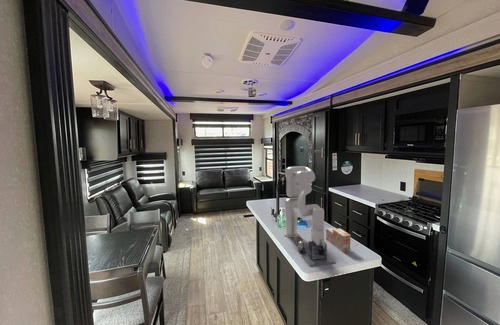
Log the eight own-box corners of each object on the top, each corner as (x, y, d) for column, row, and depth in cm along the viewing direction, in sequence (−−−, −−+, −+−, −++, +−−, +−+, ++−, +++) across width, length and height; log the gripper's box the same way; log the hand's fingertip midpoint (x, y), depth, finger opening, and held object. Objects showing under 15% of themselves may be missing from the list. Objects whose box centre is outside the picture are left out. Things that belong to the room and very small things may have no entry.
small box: (323, 254, 150) (323, 239, 149) (327, 259, 144) (327, 244, 143) (308, 255, 150) (308, 240, 149) (311, 260, 143) (311, 245, 142)
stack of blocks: (325, 239, 175) (325, 224, 174) (332, 238, 177) (332, 223, 176) (342, 252, 155) (343, 235, 153) (350, 251, 156) (350, 234, 155)
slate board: (301, 255, 151) (301, 254, 151) (325, 252, 154) (325, 251, 154) (309, 266, 138) (309, 264, 138) (335, 262, 142) (335, 261, 141)
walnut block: (294, 243, 170) (294, 237, 170) (300, 242, 171) (300, 236, 171) (296, 246, 165) (296, 240, 165) (303, 245, 166) (303, 239, 166)
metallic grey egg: (297, 251, 158) (296, 242, 157) (301, 248, 160) (301, 239, 160) (302, 254, 154) (301, 244, 153) (307, 251, 156) (306, 242, 156)
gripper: (307, 222, 152) (307, 245, 154) (319, 232, 135) (319, 258, 137) (317, 221, 153) (316, 244, 155) (330, 231, 136) (330, 257, 138)
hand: (317, 251), depth 146 cm, fingers open, 9 cm apart
